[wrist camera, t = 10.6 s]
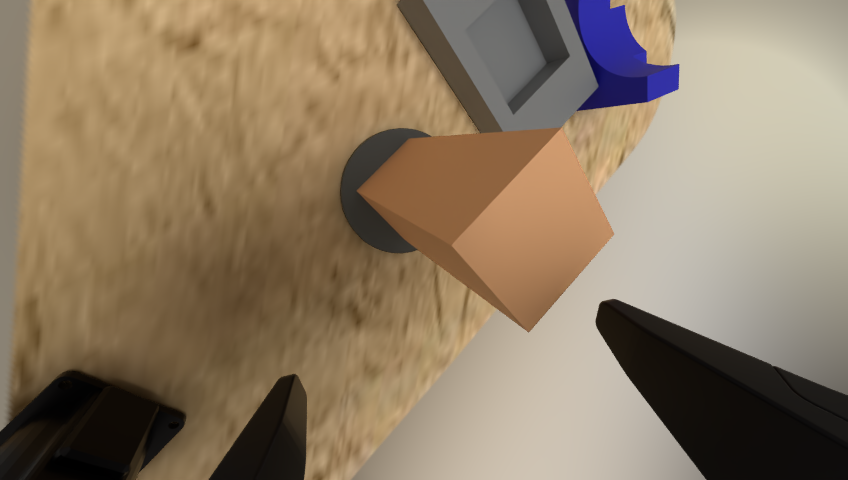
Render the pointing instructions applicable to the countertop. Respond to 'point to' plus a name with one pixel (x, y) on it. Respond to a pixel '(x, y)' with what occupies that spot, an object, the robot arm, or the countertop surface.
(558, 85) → the socket block
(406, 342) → the countertop surface
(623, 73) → the cable clip
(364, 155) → the coaster
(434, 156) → the tan rectangular block
